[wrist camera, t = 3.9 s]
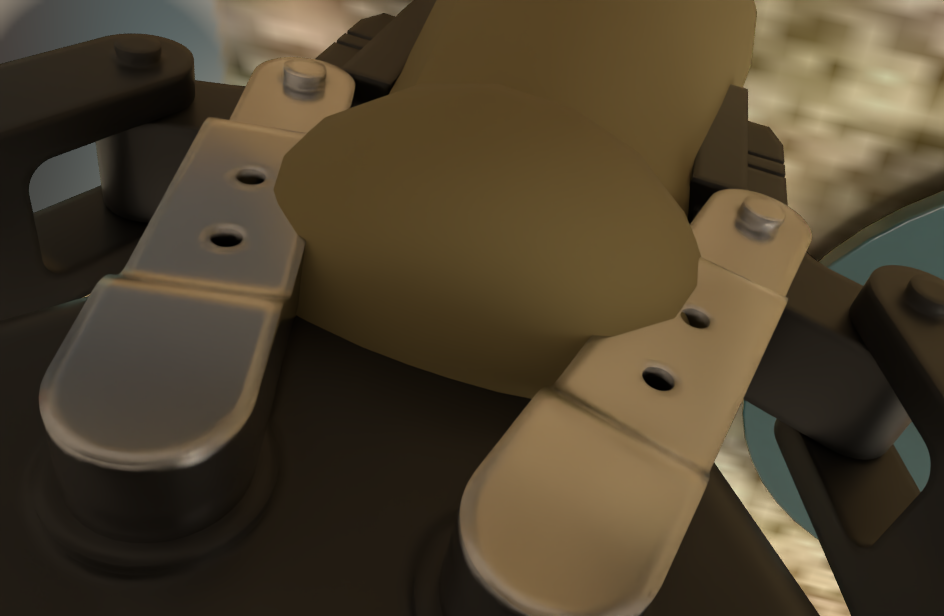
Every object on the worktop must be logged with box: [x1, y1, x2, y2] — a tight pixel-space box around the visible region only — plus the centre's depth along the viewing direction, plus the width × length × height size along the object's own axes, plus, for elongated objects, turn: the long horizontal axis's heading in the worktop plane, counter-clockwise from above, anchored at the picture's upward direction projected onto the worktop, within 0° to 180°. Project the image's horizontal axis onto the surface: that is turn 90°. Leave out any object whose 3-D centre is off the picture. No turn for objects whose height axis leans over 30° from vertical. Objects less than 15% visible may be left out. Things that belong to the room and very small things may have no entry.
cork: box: [273, 0, 757, 399], centre depth 11 cm, size 6×6×11 cm
